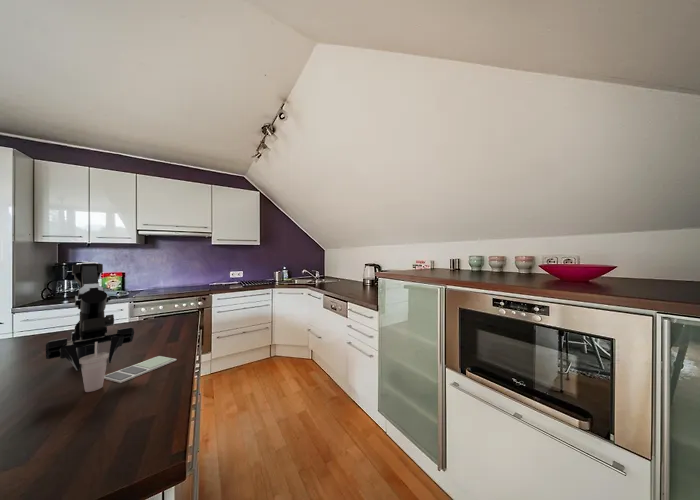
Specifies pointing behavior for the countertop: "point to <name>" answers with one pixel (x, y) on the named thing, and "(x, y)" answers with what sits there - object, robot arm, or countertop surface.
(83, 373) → the smoothie
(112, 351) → the robot arm
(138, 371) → the board
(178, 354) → the countertop surface
